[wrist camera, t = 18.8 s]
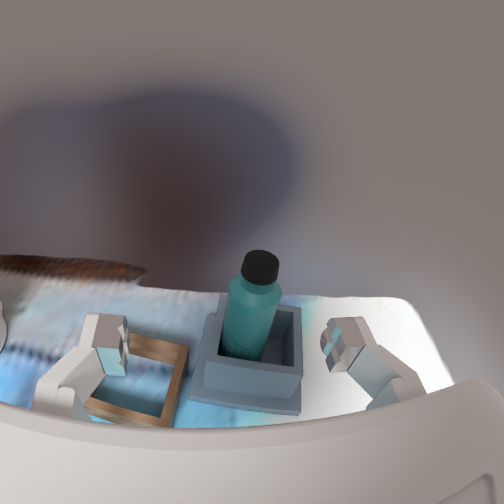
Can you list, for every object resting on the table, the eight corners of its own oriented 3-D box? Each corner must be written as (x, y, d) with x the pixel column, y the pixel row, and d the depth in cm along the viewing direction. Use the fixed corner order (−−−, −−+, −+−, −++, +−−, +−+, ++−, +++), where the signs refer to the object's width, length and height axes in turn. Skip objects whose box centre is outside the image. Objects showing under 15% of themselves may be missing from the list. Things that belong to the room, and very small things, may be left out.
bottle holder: (188, 399, 40) (188, 369, 35) (207, 319, 53) (210, 283, 48) (297, 415, 41) (317, 388, 36) (297, 335, 54) (311, 301, 49)
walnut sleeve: (79, 410, 34) (71, 398, 32) (109, 341, 45) (105, 325, 43) (169, 438, 35) (167, 428, 32) (188, 361, 46) (188, 346, 43)
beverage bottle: (267, 364, 46) (304, 263, 34) (236, 387, 42) (263, 287, 30) (239, 338, 49) (263, 234, 38) (207, 358, 45) (220, 252, 33)
